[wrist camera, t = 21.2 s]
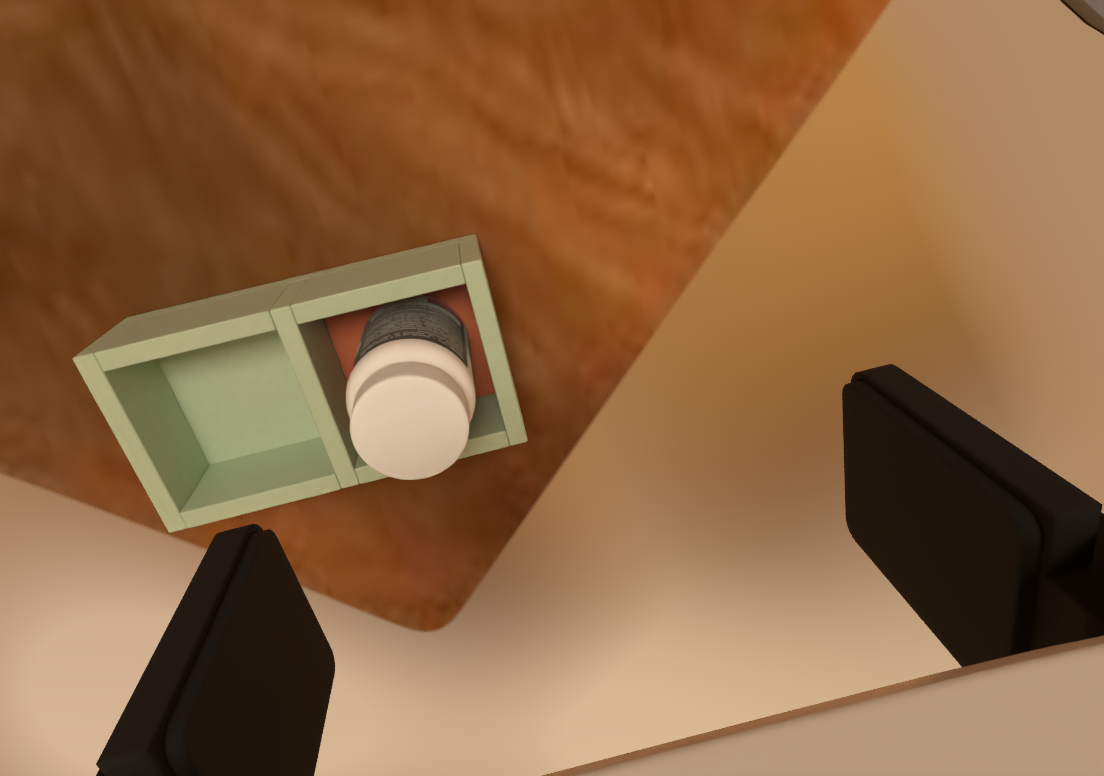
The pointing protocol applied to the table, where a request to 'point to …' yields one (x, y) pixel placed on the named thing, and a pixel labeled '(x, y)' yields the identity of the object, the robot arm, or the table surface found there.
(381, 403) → the pill bottle
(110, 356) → the rack
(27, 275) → the table surface
